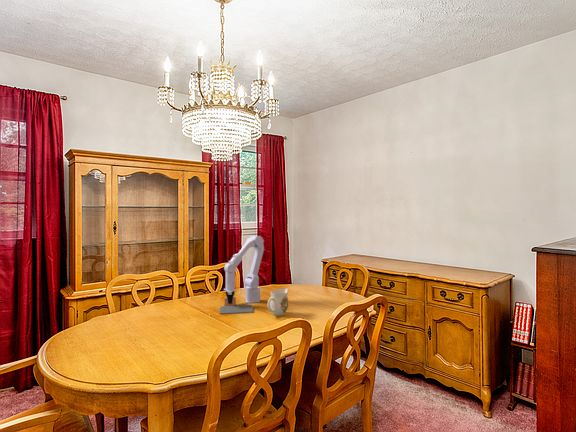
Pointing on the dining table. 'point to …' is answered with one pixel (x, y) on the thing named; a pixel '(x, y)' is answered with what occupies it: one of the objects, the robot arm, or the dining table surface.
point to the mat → (236, 309)
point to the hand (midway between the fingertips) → (230, 303)
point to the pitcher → (278, 302)
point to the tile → (232, 302)
